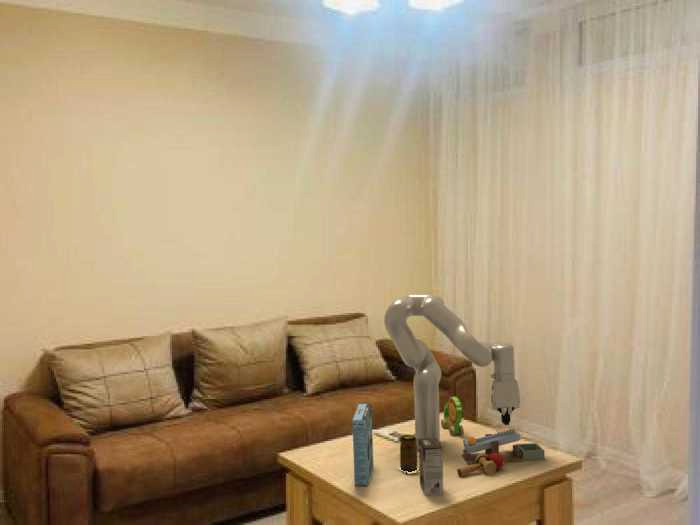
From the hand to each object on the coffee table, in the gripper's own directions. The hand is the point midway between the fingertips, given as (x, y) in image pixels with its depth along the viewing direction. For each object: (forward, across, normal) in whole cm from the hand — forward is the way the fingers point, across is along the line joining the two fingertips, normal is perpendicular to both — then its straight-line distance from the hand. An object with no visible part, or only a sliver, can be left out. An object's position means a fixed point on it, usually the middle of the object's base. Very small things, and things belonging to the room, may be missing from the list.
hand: (506, 423), depth 265 cm
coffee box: (+10, -36, -30) cm, 48 cm away
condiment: (+10, -40, -12) cm, 43 cm away
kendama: (+11, -15, -18) cm, 26 cm away
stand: (+11, -8, -6) cm, 14 cm away
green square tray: (+11, +7, -6) cm, 14 cm away
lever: (+5, -7, -3) cm, 9 cm away
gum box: (+10, -56, -14) cm, 59 cm away
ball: (+4, -15, -6) cm, 17 cm away
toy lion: (+10, -15, +26) cm, 32 cm away
